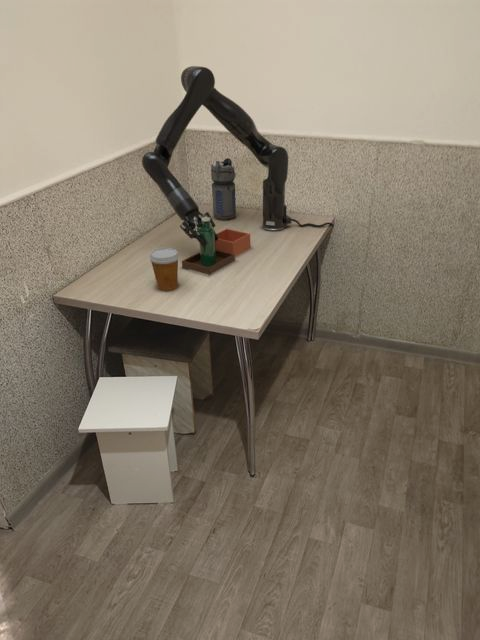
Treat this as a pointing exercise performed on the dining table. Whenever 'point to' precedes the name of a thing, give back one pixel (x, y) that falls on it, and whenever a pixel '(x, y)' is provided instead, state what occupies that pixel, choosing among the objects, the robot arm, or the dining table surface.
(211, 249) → the bottle
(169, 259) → the disposable coffee cup
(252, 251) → the dining table surface
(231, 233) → the bin
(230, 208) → the beverage bottle
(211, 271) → the tray
